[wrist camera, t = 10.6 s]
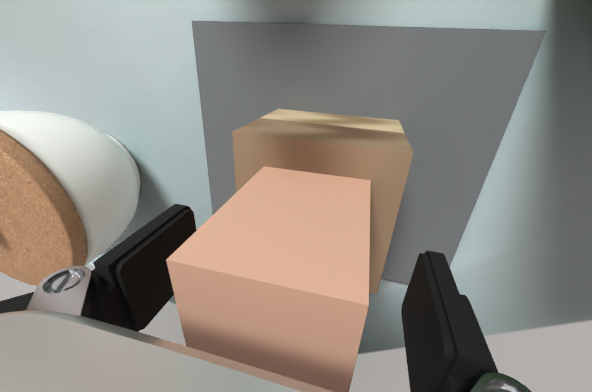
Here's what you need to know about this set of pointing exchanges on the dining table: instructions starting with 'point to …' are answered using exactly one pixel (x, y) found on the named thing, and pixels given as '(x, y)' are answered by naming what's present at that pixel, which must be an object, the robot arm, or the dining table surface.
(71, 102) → the dining table surface
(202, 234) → the terracotta block
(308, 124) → the walnut slab
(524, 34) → the rubber mat
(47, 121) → the lidded bowl
